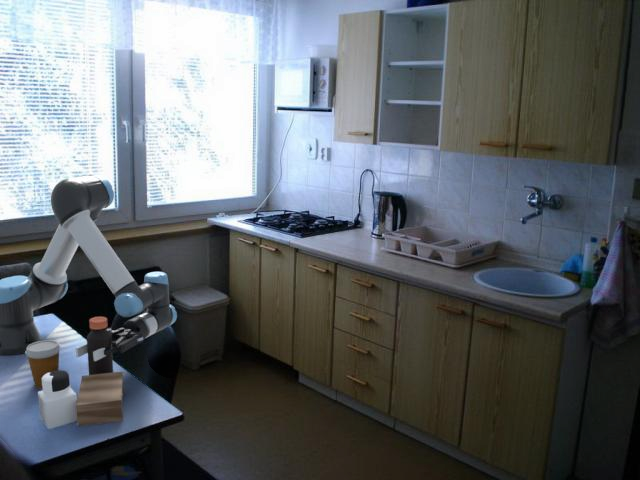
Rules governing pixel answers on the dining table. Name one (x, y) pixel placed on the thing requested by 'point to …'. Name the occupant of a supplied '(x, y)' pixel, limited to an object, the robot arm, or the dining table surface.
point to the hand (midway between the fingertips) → (85, 354)
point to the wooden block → (100, 399)
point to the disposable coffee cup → (43, 359)
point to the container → (57, 400)
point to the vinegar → (99, 346)
